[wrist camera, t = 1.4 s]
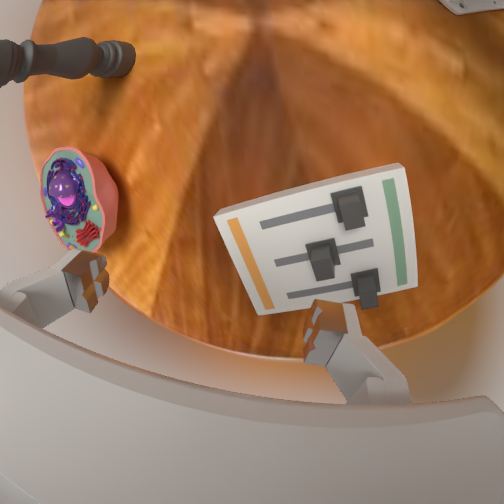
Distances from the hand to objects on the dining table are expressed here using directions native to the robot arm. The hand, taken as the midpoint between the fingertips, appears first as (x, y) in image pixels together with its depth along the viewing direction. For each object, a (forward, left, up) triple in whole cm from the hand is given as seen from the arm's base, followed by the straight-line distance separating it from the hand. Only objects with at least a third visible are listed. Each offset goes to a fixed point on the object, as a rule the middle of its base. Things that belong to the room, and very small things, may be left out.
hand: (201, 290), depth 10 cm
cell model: (+33, -6, -29) cm, 45 cm away
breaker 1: (-6, +8, -26) cm, 27 cm away
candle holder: (+18, -24, -29) cm, 42 cm away
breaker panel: (-1, +14, -29) cm, 32 cm away
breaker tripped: (-1, +14, -26) cm, 29 cm away
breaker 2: (-6, +20, -26) cm, 33 cm away
